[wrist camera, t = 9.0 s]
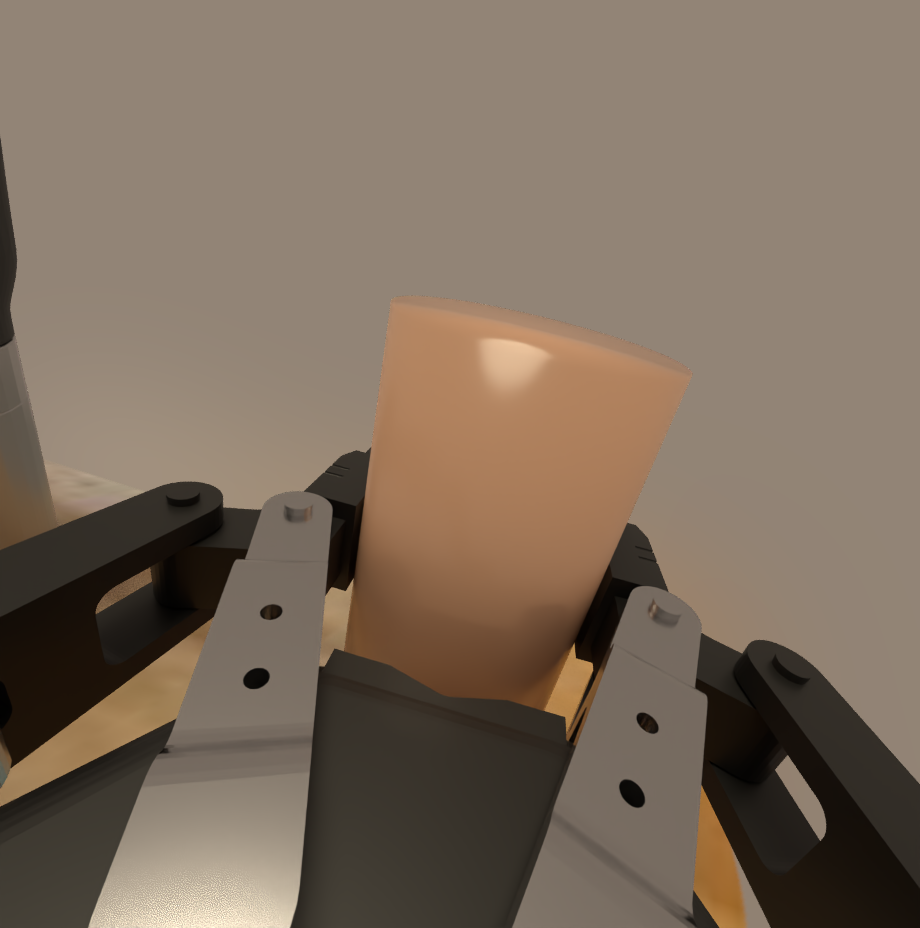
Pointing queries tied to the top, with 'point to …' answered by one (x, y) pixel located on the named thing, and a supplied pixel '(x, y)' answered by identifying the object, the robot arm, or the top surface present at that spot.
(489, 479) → the tall tan cylinder
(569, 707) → the top surface
